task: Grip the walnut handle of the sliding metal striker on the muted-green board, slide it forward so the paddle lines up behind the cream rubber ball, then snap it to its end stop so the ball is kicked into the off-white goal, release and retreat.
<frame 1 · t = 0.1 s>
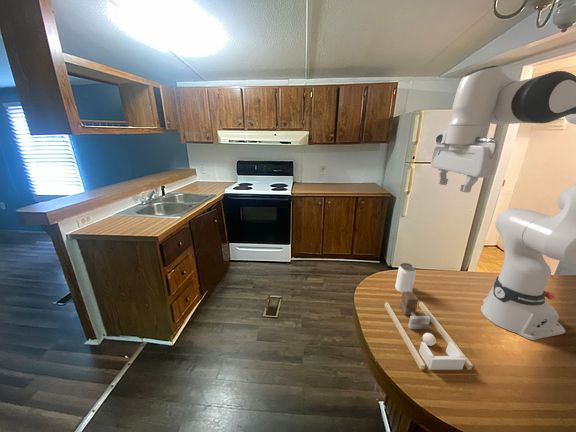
hand: (453, 187, 66), 48 cm above the countertop, tool pointing down, fingers open, 8 cm apart
pitch: (420, 335, 75), on the countertop
can: (402, 291, 97), on the countertop
ball: (429, 339, 70), point 3 cm above the countertop, touching pitch
striker: (412, 309, 80), point 5 cm above the countertop, slide at 0.0 cm
goal: (440, 361, 65), resting on pitch
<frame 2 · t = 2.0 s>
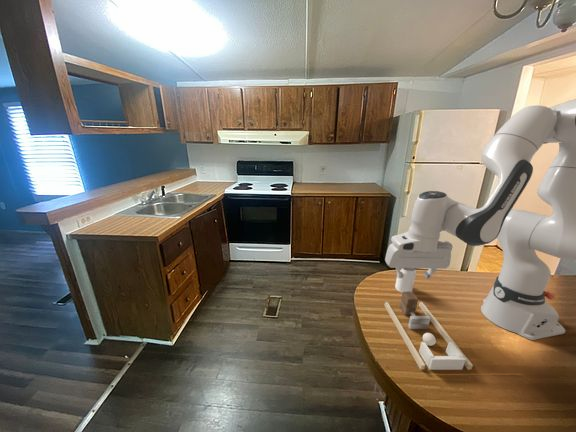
hand: (413, 277, 79), 16 cm above the countertop, tool pointing down, fingers open, 8 cm apart
nothing on the countertop moved.
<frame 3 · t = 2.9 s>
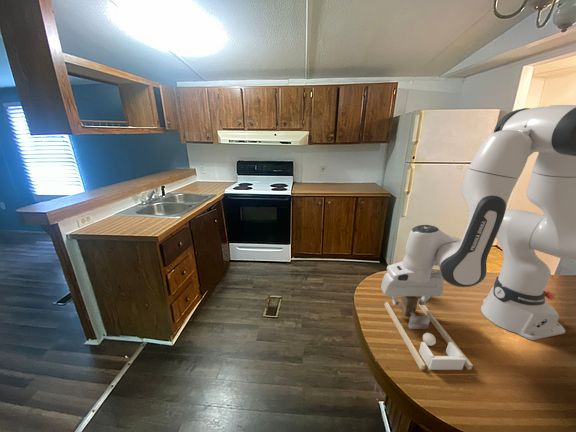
hand: (408, 304, 82), 5 cm above the countertop, tool pointing down, fingers open, 8 cm apart
nothing on the countertop moved.
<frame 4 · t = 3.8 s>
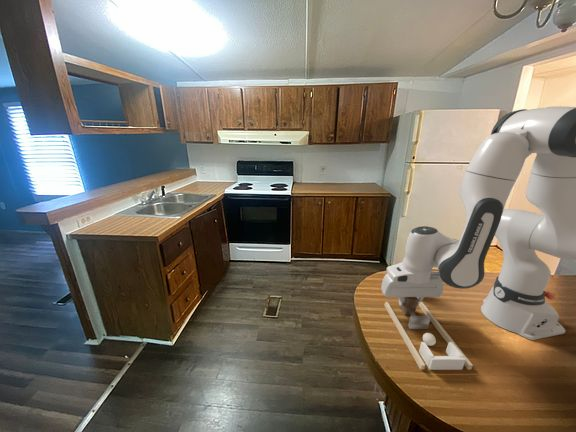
hand: (408, 304, 83), 4 cm above the countertop, tool pointing down, fingers closed on striker, 3 cm apart
striker: (412, 309, 80), point 5 cm above the countertop, slide at 0.0 cm, touching gripper
everything else where it was.
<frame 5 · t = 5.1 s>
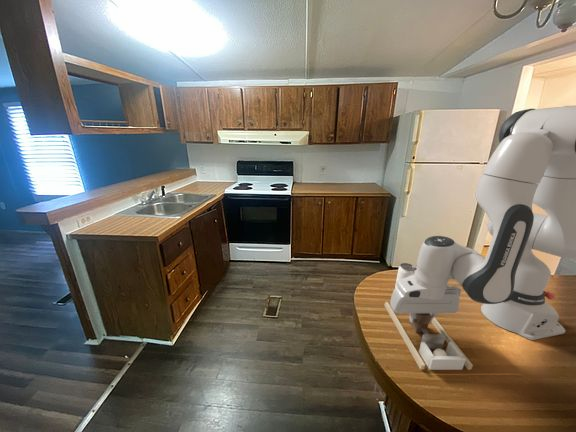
hand: (419, 321, 75), 4 cm above the countertop, tool pointing down, fingers closed on striker, 3 cm apart
ball: (440, 355, 65), point 3 cm above the countertop, tilted 178°, touching pitch
striker: (424, 326, 73), point 5 cm above the countertop, slide at 7.5 cm, touching gripper
everything else where it was.
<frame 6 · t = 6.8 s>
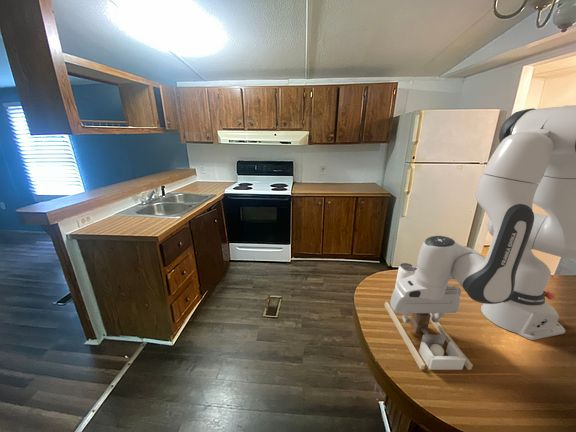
hand: (419, 321, 75), 4 cm above the countertop, tool pointing down, fingers open, 8 cm apart
ball: (437, 350, 67), point 3 cm above the countertop, tilted 126°, touching pitch
striker: (425, 326, 73), point 5 cm above the countertop, slide at 7.5 cm
everything else where it was.
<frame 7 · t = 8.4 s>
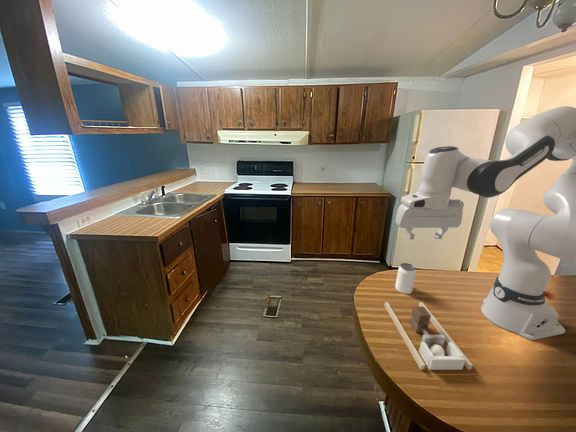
hand: (424, 238, 78), 29 cm above the countertop, tool pointing down, fingers open, 8 cm apart
ball: (437, 351, 67), point 3 cm above the countertop, tilted 131°, touching pitch
everything else where it was.
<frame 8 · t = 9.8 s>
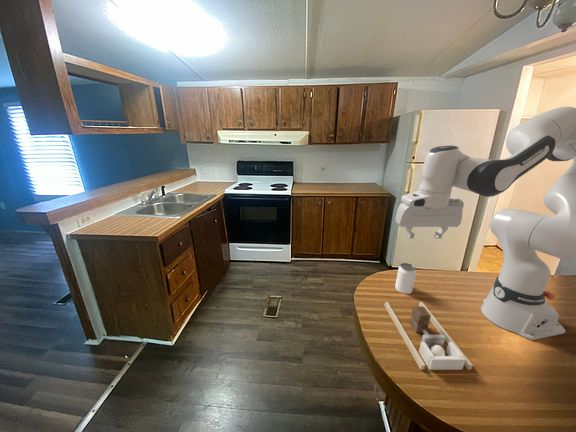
hand: (423, 237, 78), 29 cm above the countertop, tool pointing down, fingers open, 8 cm apart
nothing on the countertop moved.
at the end: ball inside the target area (1.3 cm from its centre), point 2.9 cm above the countertop; striker slide at 7.5 cm; the gripper is holding nothing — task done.
